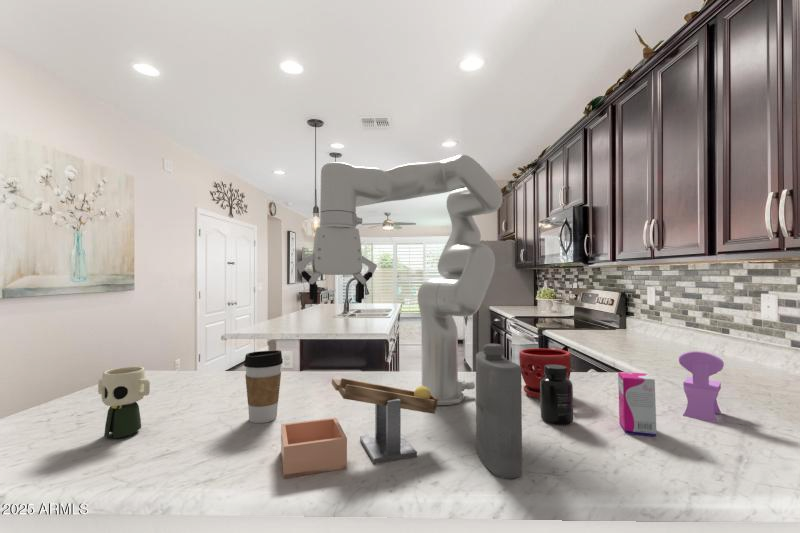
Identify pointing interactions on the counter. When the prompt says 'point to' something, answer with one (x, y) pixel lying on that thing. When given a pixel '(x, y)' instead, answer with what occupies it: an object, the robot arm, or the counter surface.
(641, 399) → the supplement box
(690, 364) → the toy chair
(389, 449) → the pivot stand
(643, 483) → the counter surface
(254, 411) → the coffee cup
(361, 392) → the lever
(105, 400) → the character mug
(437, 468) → the counter surface
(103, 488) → the counter surface
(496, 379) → the flask
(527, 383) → the plant pot
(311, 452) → the pink open box
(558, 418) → the supplement bottle
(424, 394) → the ball
